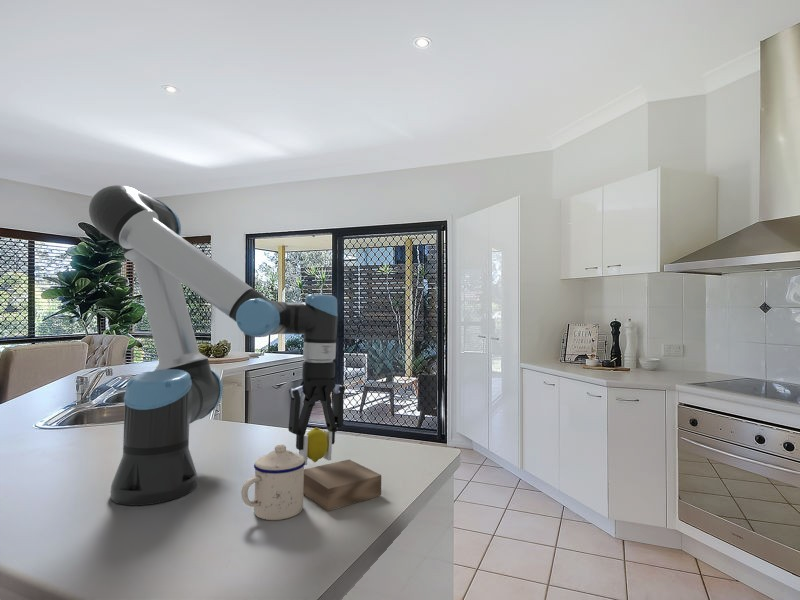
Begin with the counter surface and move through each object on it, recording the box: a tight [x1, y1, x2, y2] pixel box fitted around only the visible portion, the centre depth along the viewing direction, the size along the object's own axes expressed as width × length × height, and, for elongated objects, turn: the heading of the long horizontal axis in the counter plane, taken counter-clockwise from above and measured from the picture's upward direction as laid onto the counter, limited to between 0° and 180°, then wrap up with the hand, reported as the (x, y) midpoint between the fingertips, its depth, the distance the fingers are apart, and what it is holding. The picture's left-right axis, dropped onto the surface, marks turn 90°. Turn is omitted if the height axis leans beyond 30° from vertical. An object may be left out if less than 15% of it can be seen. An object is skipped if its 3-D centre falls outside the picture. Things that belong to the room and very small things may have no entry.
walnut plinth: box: [303, 459, 382, 512], centre depth 90 cm, size 12×12×4 cm
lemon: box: [306, 427, 328, 463], centre depth 103 cm, size 6×6×8 cm
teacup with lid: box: [240, 444, 306, 521], centre depth 80 cm, size 12×9×12 cm
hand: (315, 460), depth 103 cm, fingers closed on lemon, 5 cm apart
